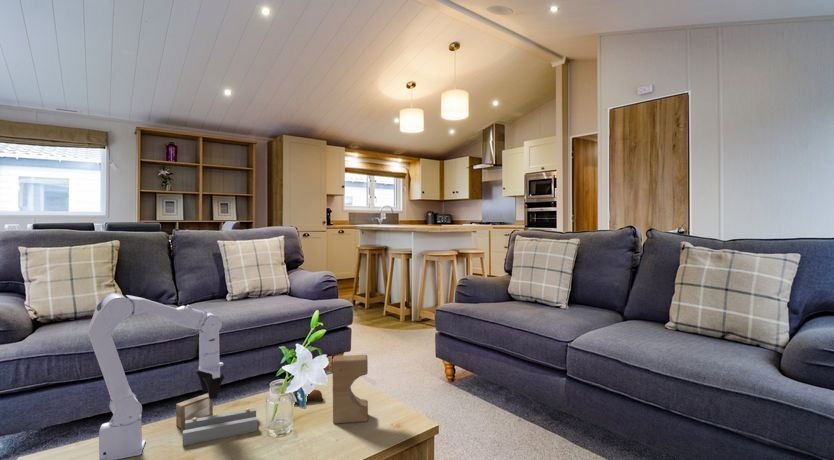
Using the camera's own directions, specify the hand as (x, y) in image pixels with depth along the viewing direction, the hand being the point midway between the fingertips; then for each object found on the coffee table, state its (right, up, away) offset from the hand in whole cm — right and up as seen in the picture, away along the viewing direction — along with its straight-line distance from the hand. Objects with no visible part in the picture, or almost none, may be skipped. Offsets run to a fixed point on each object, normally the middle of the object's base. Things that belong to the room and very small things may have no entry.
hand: (209, 394), depth 129 cm
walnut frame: (-6, -10, +3) cm, 12 cm away
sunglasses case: (+22, -10, +18) cm, 30 cm away
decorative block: (+44, -10, +3) cm, 45 cm away
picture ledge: (+6, -10, -4) cm, 12 cm away
